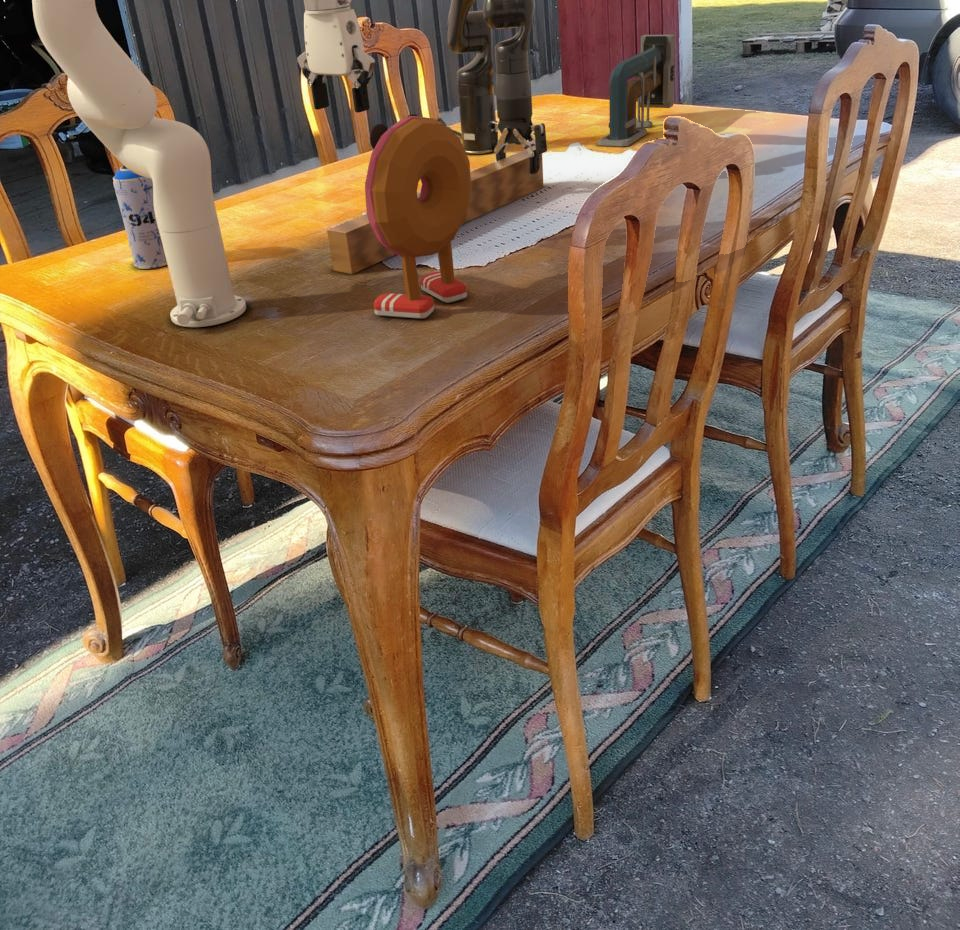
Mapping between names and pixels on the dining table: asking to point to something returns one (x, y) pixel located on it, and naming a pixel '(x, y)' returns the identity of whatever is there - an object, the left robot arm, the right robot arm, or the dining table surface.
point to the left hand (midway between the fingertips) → (342, 109)
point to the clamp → (640, 89)
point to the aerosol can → (139, 218)
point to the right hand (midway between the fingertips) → (518, 171)
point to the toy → (418, 207)
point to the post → (489, 184)
